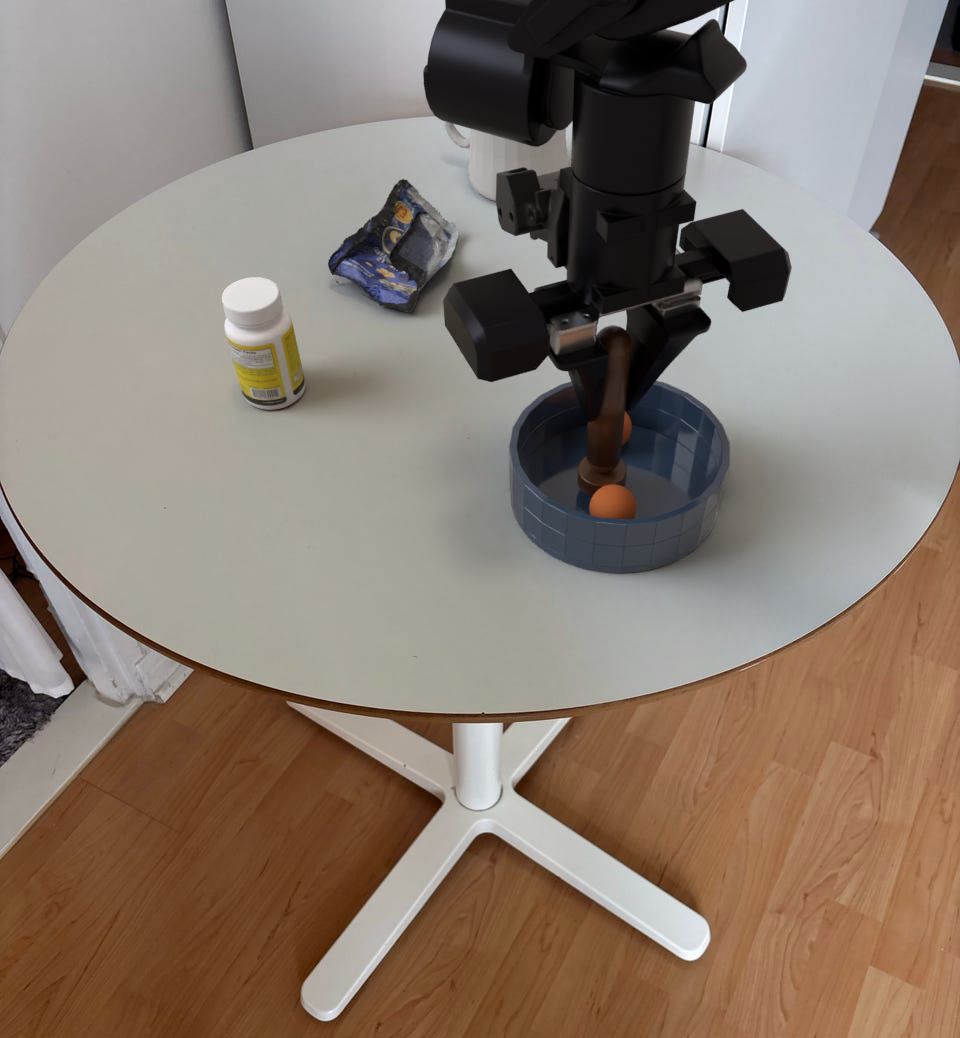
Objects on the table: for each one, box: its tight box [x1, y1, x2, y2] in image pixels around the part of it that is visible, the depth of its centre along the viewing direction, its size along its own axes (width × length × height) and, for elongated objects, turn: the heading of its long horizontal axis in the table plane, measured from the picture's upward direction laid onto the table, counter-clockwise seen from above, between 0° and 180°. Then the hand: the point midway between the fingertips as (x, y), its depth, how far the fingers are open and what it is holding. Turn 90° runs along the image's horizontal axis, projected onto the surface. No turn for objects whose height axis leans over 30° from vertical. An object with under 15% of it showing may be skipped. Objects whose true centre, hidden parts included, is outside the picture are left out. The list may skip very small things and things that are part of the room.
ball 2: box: [589, 484, 636, 519], centre depth 65 cm, size 3×3×3 cm
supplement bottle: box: [221, 276, 306, 411], centre depth 73 cm, size 5×5×8 cm
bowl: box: [508, 380, 731, 574], centre depth 67 cm, size 14×14×4 cm
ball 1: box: [588, 412, 632, 445], centre depth 70 cm, size 3×3×3 cm
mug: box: [443, 121, 569, 202], centre depth 90 cm, size 12×9×10 cm
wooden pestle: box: [577, 324, 632, 497], centre depth 63 cm, size 3×3×12 cm
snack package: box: [327, 178, 460, 314], centre depth 84 cm, size 12×6×12 cm
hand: (607, 411), depth 63 cm, fingers closed on wooden pestle, 2 cm apart
